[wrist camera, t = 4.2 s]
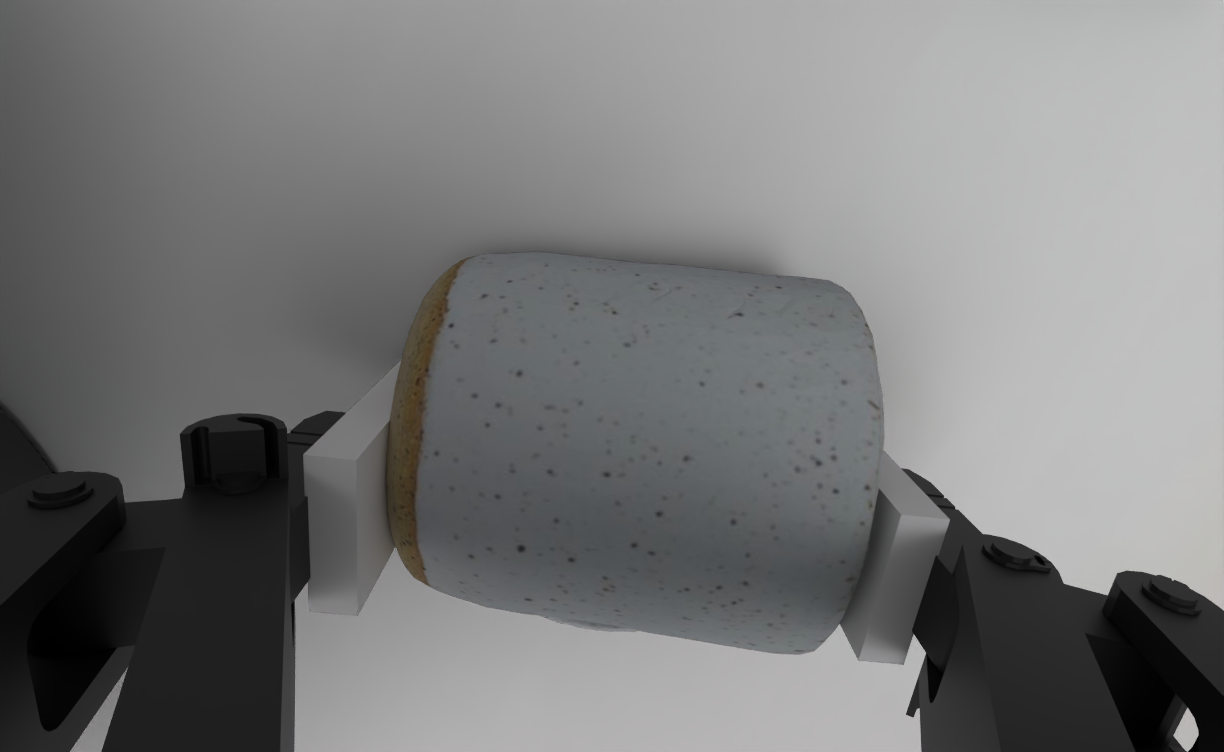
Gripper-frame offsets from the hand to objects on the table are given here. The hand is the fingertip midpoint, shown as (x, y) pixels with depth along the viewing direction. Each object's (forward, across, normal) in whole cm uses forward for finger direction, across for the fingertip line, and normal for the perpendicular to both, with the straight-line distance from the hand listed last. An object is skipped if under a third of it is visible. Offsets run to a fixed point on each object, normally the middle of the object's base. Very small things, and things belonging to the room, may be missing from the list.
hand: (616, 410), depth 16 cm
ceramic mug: (+1, 0, -1) cm, 2 cm away
